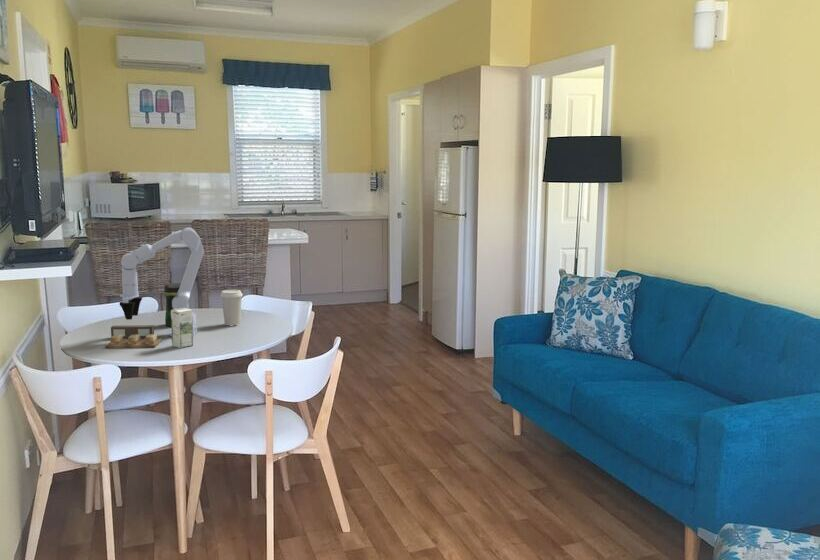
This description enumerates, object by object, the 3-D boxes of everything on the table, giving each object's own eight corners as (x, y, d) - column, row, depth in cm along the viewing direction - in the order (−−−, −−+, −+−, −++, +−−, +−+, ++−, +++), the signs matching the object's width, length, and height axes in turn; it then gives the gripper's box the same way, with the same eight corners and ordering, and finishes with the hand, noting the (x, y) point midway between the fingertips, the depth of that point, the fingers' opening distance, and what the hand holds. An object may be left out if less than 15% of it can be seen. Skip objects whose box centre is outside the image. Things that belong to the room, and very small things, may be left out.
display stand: (161, 341, 271) (161, 332, 271) (154, 347, 261) (154, 338, 261) (114, 342, 270) (114, 333, 269) (105, 348, 260) (105, 339, 259)
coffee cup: (246, 322, 306) (245, 289, 304) (239, 327, 297) (238, 293, 295) (225, 322, 307) (224, 289, 305) (217, 326, 298) (216, 292, 295)
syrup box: (185, 343, 268) (183, 307, 266) (193, 345, 265) (192, 309, 262) (171, 346, 264) (170, 309, 262) (180, 348, 260) (178, 311, 258)
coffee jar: (166, 327, 295) (164, 285, 292) (164, 324, 302) (162, 282, 299) (190, 325, 299) (188, 283, 296) (187, 322, 306) (185, 281, 304)
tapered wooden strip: (154, 337, 279) (153, 325, 278) (152, 338, 276) (151, 326, 275) (113, 337, 278) (113, 325, 277) (111, 339, 275) (110, 327, 274)
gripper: (125, 281, 280) (127, 313, 282) (113, 287, 266) (115, 321, 268) (143, 281, 281) (144, 313, 283) (132, 287, 267) (134, 321, 269)
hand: (131, 317), depth 276 cm, fingers open, 7 cm apart
